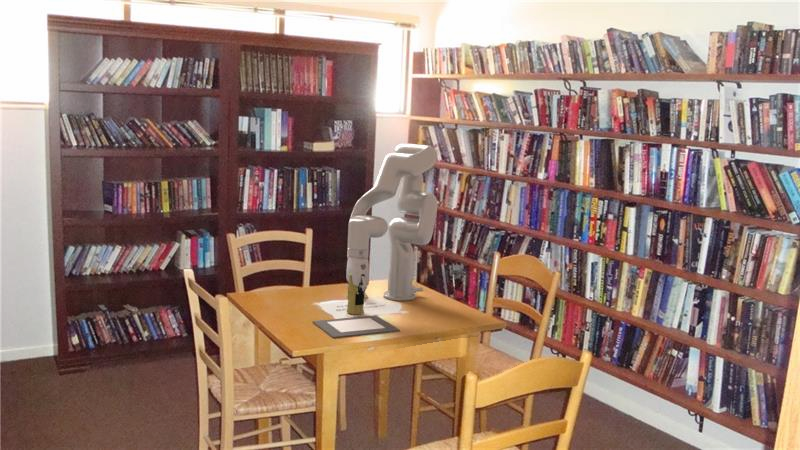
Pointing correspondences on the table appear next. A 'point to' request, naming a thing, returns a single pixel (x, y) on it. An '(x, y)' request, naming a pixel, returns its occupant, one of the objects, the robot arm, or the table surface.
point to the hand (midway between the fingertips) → (355, 302)
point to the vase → (353, 300)
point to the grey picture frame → (355, 326)
